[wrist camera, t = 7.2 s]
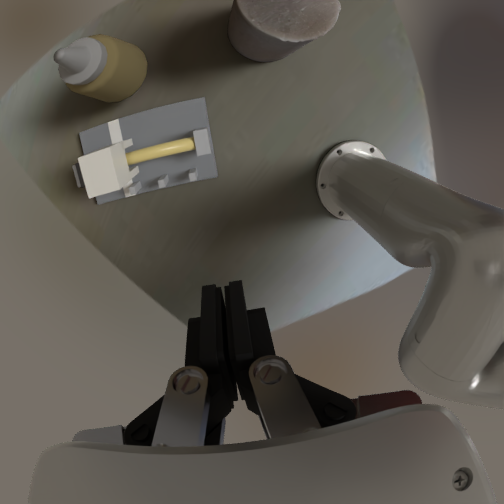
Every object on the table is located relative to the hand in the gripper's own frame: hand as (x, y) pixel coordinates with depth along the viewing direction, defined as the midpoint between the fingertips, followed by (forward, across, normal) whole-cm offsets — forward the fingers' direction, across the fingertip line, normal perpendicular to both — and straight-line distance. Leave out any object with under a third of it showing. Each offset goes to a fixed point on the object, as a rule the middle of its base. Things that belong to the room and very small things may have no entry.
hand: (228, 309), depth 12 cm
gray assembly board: (+28, +10, -5) cm, 30 cm away
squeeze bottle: (+29, +11, -16) cm, 35 cm away
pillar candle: (+29, -8, -19) cm, 36 cm away
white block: (+26, +13, -5) cm, 30 cm away
